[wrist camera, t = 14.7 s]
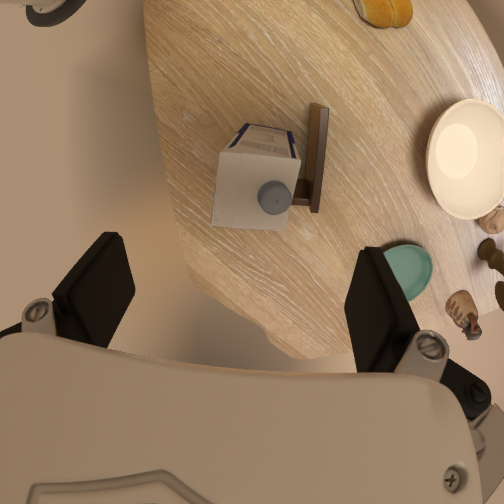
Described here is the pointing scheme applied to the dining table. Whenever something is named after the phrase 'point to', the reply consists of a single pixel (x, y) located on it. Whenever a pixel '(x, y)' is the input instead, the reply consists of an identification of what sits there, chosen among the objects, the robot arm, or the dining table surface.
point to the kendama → (494, 266)
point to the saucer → (410, 268)
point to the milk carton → (256, 179)
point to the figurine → (464, 314)
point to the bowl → (467, 159)
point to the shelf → (313, 160)
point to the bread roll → (385, 12)
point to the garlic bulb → (493, 220)
